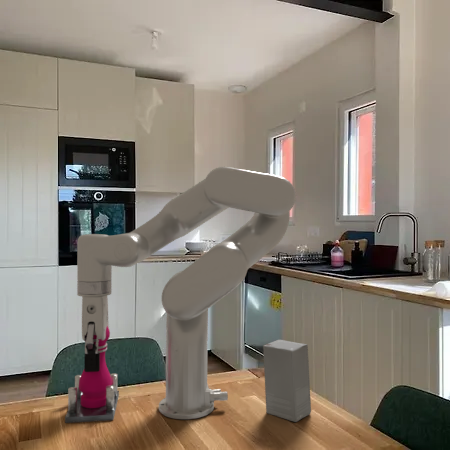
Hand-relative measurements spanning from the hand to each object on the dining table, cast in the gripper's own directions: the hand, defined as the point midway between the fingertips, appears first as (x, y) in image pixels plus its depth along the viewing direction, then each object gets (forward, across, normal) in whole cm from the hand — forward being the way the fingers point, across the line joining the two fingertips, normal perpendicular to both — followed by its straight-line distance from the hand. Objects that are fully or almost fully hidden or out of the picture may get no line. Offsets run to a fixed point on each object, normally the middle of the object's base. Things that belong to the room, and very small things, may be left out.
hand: (94, 365), depth 103 cm
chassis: (+10, 0, 0) cm, 10 cm away
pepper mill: (+9, 0, 0) cm, 9 cm away
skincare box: (+10, -9, -43) cm, 45 cm away
